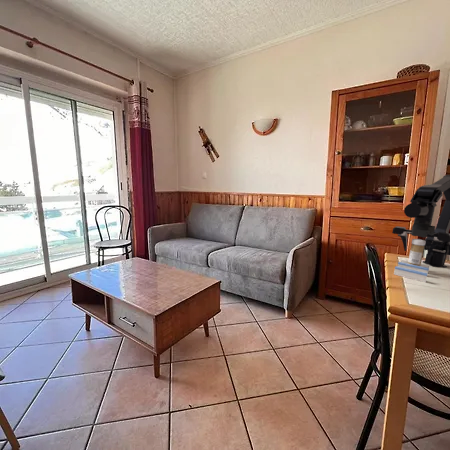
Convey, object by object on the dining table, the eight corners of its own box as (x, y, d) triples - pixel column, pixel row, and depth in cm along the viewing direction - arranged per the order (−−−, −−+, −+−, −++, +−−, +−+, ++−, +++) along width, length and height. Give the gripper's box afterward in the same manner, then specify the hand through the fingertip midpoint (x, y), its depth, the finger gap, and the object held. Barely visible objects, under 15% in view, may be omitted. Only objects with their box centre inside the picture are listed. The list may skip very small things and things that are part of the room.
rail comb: (400, 264, 110) (401, 257, 109) (428, 270, 103) (430, 263, 102) (393, 274, 96) (394, 267, 96) (425, 282, 90) (427, 274, 89)
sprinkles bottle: (421, 270, 102) (427, 240, 100) (417, 272, 100) (423, 241, 97) (408, 267, 106) (414, 238, 103) (404, 269, 103) (410, 239, 101)
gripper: (393, 215, 99) (386, 251, 102) (454, 222, 87) (445, 263, 89) (397, 213, 107) (391, 247, 110) (454, 219, 95) (445, 257, 97)
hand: (416, 253), depth 101 cm, fingers open, 7 cm apart
